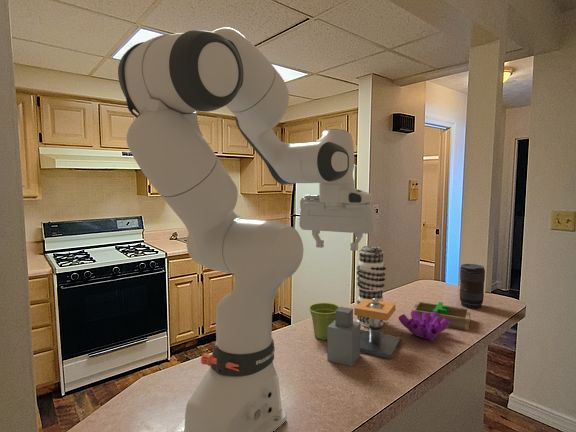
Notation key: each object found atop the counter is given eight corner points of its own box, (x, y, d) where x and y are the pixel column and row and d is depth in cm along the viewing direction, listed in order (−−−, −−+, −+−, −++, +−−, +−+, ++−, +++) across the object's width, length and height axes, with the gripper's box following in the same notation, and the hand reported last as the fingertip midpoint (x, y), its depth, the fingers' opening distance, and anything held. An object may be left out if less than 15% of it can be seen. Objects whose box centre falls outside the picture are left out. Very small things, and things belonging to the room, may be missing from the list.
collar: (387, 320, 96) (387, 313, 96) (354, 315, 100) (354, 307, 100) (395, 310, 104) (395, 303, 103) (364, 305, 108) (364, 298, 108)
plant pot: (303, 338, 107) (303, 310, 107) (316, 327, 116) (316, 300, 115) (333, 345, 103) (333, 315, 102) (344, 332, 111) (344, 305, 111)
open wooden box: (468, 330, 113) (468, 319, 112) (411, 320, 121) (411, 310, 121) (470, 319, 121) (470, 309, 121) (416, 311, 130) (417, 301, 129)
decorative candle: (386, 319, 122) (387, 245, 120) (382, 329, 114) (384, 250, 111) (358, 315, 126) (359, 243, 123) (353, 325, 117) (354, 248, 115)
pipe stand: (390, 359, 95) (391, 308, 93) (347, 349, 101) (347, 301, 99) (401, 341, 105) (402, 295, 104) (360, 333, 111) (361, 290, 110)
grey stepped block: (351, 366, 91) (352, 316, 90) (327, 360, 94) (327, 311, 93) (360, 355, 97) (360, 307, 96) (336, 349, 100) (337, 303, 99)
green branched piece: (444, 326, 116) (444, 313, 115) (432, 323, 118) (432, 310, 117) (449, 315, 125) (450, 303, 124) (438, 313, 127) (439, 301, 126)
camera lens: (453, 304, 137) (455, 264, 135) (469, 301, 140) (470, 262, 139) (472, 311, 129) (474, 269, 128) (488, 307, 133) (490, 267, 131)
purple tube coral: (405, 351, 106) (389, 320, 110) (431, 337, 116) (415, 309, 120) (436, 339, 99) (417, 306, 102) (461, 324, 108) (443, 295, 112)
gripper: (294, 195, 95) (295, 247, 97) (372, 196, 85) (371, 254, 87) (305, 194, 101) (305, 243, 102) (379, 195, 91) (378, 249, 92)
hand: (336, 248), depth 94 cm, fingers open, 8 cm apart
